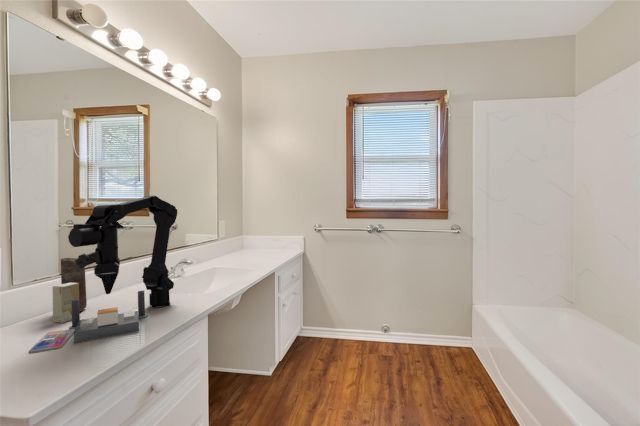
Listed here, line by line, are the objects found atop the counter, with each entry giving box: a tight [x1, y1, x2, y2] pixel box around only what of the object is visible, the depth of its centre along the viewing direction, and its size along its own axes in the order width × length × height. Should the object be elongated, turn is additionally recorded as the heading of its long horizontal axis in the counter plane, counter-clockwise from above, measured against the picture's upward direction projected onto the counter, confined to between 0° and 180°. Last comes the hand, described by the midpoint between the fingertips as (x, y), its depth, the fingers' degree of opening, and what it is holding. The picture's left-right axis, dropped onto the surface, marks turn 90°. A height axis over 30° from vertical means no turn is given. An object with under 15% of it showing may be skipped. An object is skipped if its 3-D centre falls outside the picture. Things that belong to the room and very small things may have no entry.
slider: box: [96, 306, 119, 326], centre depth 97 cm, size 5×3×4 cm, turn 121°
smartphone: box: [28, 328, 75, 354], centre depth 93 cm, size 7×1×15 cm
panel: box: [73, 310, 140, 344], centre depth 100 cm, size 16×12×4 cm
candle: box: [60, 257, 88, 312], centre depth 120 cm, size 8×7×20 cm
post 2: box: [137, 290, 149, 320], centre depth 112 cm, size 4×4×9 cm
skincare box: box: [52, 283, 79, 324], centre depth 110 cm, size 6×4×12 cm
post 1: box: [68, 299, 81, 330], centre depth 102 cm, size 4×4×9 cm
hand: (108, 290), depth 105 cm, fingers open, 9 cm apart
